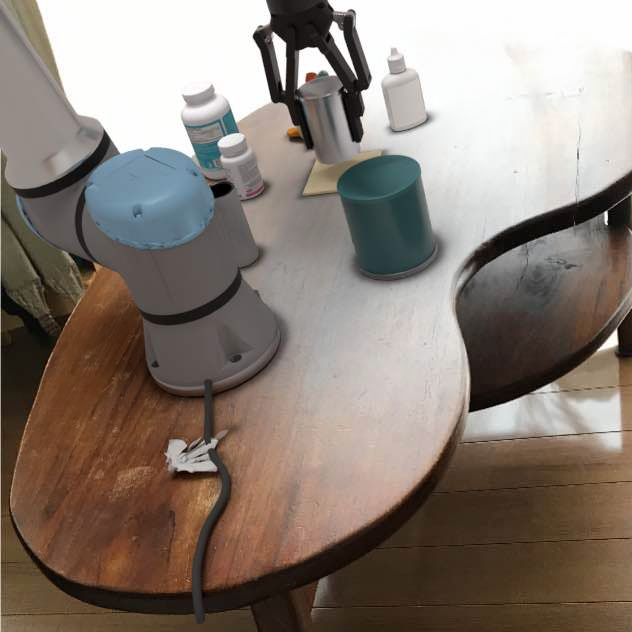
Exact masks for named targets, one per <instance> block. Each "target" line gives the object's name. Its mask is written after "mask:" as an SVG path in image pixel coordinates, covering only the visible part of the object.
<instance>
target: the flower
mask: <svg viewBox="0 0 632 632" xmlns="http://www.w3.org/2000/svg"><path fill="white" fill-rule="evenodd" d="M228 432H229V429H223V430H221V431H219V432H218V433H217V434H216V435H215V436H214V437H213V436H212V438H211V439H212V440H211V443H210V444H208V445H207V446H206V444H205V443H206V442H205V441H204V440H202V442H200V443H199V444H198V442H199V441H200V440H201V439H202V436H200V437H199V438H198V439H195V440H194V441H193V442H191V443H190V445H189V446H188V444H187V443H186V442H185V440H183V439H179V438H178V439H177V438H176V439H175V438H173V439H169V440H168V445H167V451H166V452H165V453H164V455H165V456H166V459H165V463H168V467H167V470H168V471H169V474H171V475H173V474H174V472H175V471H177V472H181V471H187V472H189V473H192V474H193V473H195V472H217V471H218V469H217V467H216V466H215V465H214V463H213V462H212V461H211V459H210V458H209V455H208V453H207V451H208V449H210V448H213V449H214V450H215V448H216V446H217V444H218V442H219V440H221V439H222V438H224V437H225V436H226V435H227V433H228ZM197 444H198V445H197ZM196 445H197V446H196ZM195 446H196V447H195ZM187 447H188V449H187V450H186V452H183V451H184V450H185V449H186V448H187ZM191 449H192V450H191ZM200 455H201V456H200Z"/></svg>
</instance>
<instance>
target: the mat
mask: <svg viewBox="0 0 632 632" xmlns="http://www.w3.org/2000/svg"><path fill="white" fill-rule="evenodd" d="M382 154H383V150H382V149H381V150H380V149H379V150H373V151H365V152H359V153H358V154H357V155H356V156H355V157H354V158H352V159H350V160H348V161H346V162H343V163H340V164H335V165H325V164H321V163H319V162H318V161H317V158H316V159H315V162H314V164H313V167H312V169H311V172H310V174H309V177H308V179H307V181H306V184H305V186H304V189H303V191H302V196H303V197H306V196H314V195H316V196H317V195H324V194H325V195H326V194H331V193H332V194H333V193H338V191H337V181H338V179H339V177H340V176H341V175H342V174H343V173H344V172H345V171H346V170H347V169H349V168H350V167H352V166H353V165H355V164H357V163H359V162H361V161H364V160H367V159H370V158H373V157H377V156H383V155H382Z"/></svg>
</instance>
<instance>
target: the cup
mask: <svg viewBox="0 0 632 632" xmlns="http://www.w3.org/2000/svg"><path fill="white" fill-rule="evenodd" d="M346 94H347V91H346V89H345V87H344V86H343V84H342V83H341V81H340V80H339V78H338V76H337V75H336V74H335V75H333V74H332V75H331V74H330V75H329V76H323V77H319V78H316V79H313V80H310V81H308V82H305V83H303V84H301V85H300V86H298V90H297V92H296V95H297V99H298V100H299V101H300V103H301V107H302V110H303V113H304V117H305V120H306V124H307V127H308V131H309V134H310V137H311V141H312V144H313V147H312V149H313V152H314V155H315V158H316V159H317V161H318V162H319V163H321V164H325V165H335V164H340V163H343V162H346V161H348V160H350V159H352V158H354V157H355V156H356V155H357V154H358V153H361V147H362V146H361V144H360V143H361V142H360V143H355V139H354V135H353V131H352V127H351V123H350V120H349V116H348V112H347V108H346V104H345V100H344V99H345V96H346Z"/></svg>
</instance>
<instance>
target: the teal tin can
mask: <svg viewBox="0 0 632 632" xmlns="http://www.w3.org/2000/svg"><path fill="white" fill-rule="evenodd" d="M424 187H425V186H424V183H423V178H422V168H421V165H420V163H419V162H418V161H417V160H416V159H415V158H413V157H411V156H407V155H405V154H404V155H403V154H384V155H381V156H377V157H373V158H370V159H367V160H364V161H361V162H359V163H357V164H355V165H353V166H352V167H350V168H349V169H347V170H346V171H345V172H344V173H343V174H342V175H341V176H340V177H339V179H338V181H337V191H338V192H337V194H338V195H339V198H340V202H341V206H342V209H343V213H344V217H345V220H346V224H347V228H348V230H349V234H350V238H351V241H352V246H353V249H354V253H355V262H356V266H357V269H358V270H359V272H360V273H361V274H362V275H364V276H365V277H367V278H369V279H372V280H378V281H393V280H394V281H395V280H400V279H404V278H409V277H411V276H413V275H414V276H415V274H417V273H420V272H422V271H423V270H424V269H426V268H428V267H429V266H430V265H431V264H432V263H433V262H434V260H435V259H436V257H437V255H438V252H439V251H438V249H439V248H438V243H437V239H436V237H435V236H434V231H433V227H432V222H431V217H430V213H429V212H430V211H429V207H428V202H427V197H426V192H425V188H424Z"/></svg>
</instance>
